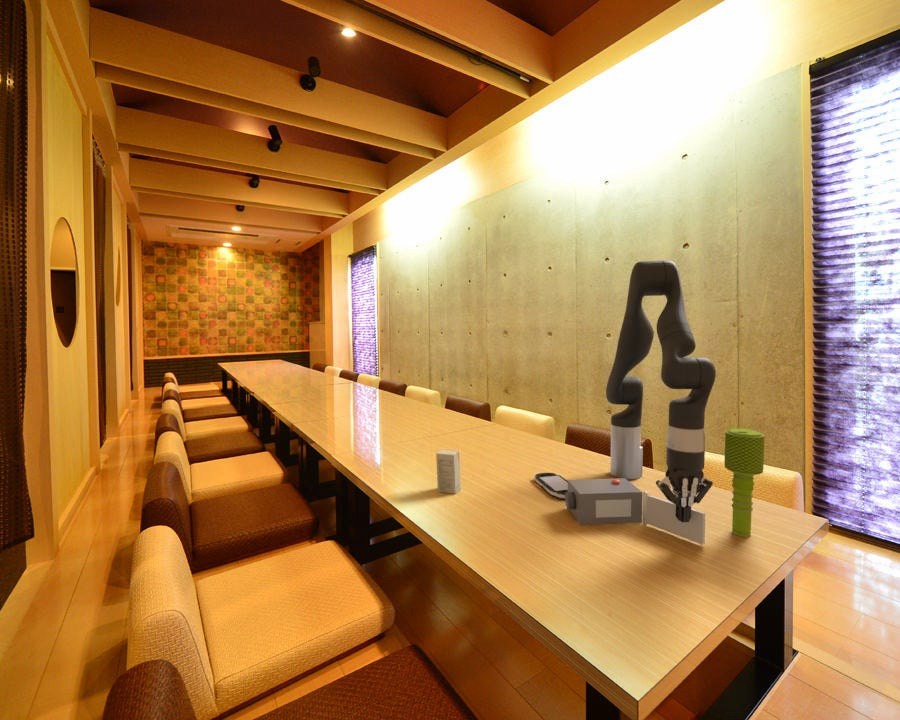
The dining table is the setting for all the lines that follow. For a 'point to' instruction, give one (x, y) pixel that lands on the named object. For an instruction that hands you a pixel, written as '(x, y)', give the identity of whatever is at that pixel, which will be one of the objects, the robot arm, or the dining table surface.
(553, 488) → the gaming console
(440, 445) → the dining table surface
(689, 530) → the side door
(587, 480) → the box
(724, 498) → the dining table surface
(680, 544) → the dining table surface
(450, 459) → the skincare box
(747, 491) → the green knurled bolt
